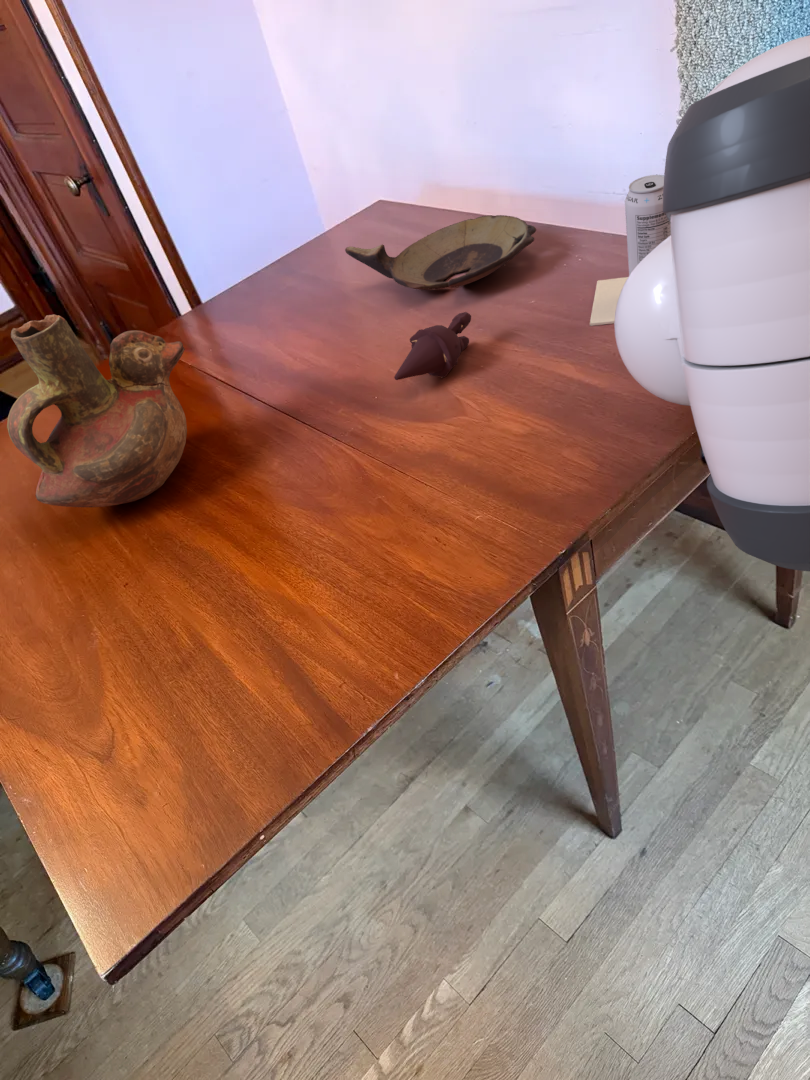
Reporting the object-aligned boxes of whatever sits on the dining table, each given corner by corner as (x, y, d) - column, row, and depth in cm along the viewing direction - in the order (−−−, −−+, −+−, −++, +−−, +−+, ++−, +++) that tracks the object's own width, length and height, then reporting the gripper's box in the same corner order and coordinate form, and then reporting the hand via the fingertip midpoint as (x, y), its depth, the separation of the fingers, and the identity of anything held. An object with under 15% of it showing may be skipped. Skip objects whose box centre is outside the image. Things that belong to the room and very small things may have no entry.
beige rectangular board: (715, 269, 103) (715, 266, 103) (717, 313, 96) (717, 310, 95) (597, 283, 109) (597, 280, 109) (589, 326, 101) (589, 323, 101)
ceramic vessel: (256, 445, 102) (171, 273, 85) (92, 563, 92) (-40, 394, 76) (196, 412, 113) (110, 254, 96) (44, 514, 103) (-80, 357, 87)
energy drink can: (671, 279, 104) (668, 168, 94) (681, 299, 99) (680, 185, 89) (626, 289, 105) (619, 181, 95) (635, 310, 101) (628, 198, 91)
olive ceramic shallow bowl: (497, 314, 110) (487, 264, 105) (343, 303, 127) (328, 260, 122) (561, 242, 122) (556, 195, 117) (412, 241, 138) (402, 200, 133)
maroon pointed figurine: (416, 367, 93) (491, 316, 100) (373, 344, 96) (449, 296, 103) (416, 411, 98) (487, 359, 105) (376, 387, 101) (447, 338, 108)
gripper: (934, 98, 70) (796, 94, 80) (801, 190, 64) (669, 174, 74) (920, 167, 75) (791, 156, 84) (795, 260, 69) (670, 236, 78)
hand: (733, 165), depth 79 cm, fingers open, 8 cm apart
